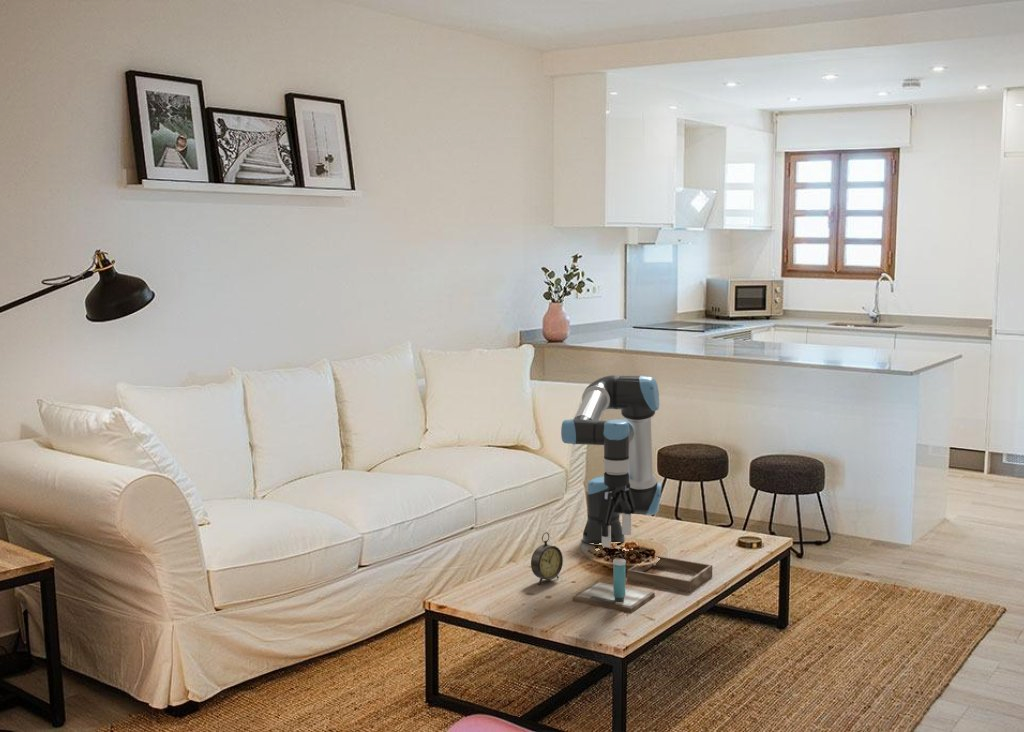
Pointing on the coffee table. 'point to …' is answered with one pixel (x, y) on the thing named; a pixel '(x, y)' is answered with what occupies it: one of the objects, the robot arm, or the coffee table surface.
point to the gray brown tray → (668, 582)
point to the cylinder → (619, 579)
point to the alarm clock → (546, 561)
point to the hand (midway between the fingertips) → (616, 540)
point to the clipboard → (604, 597)
